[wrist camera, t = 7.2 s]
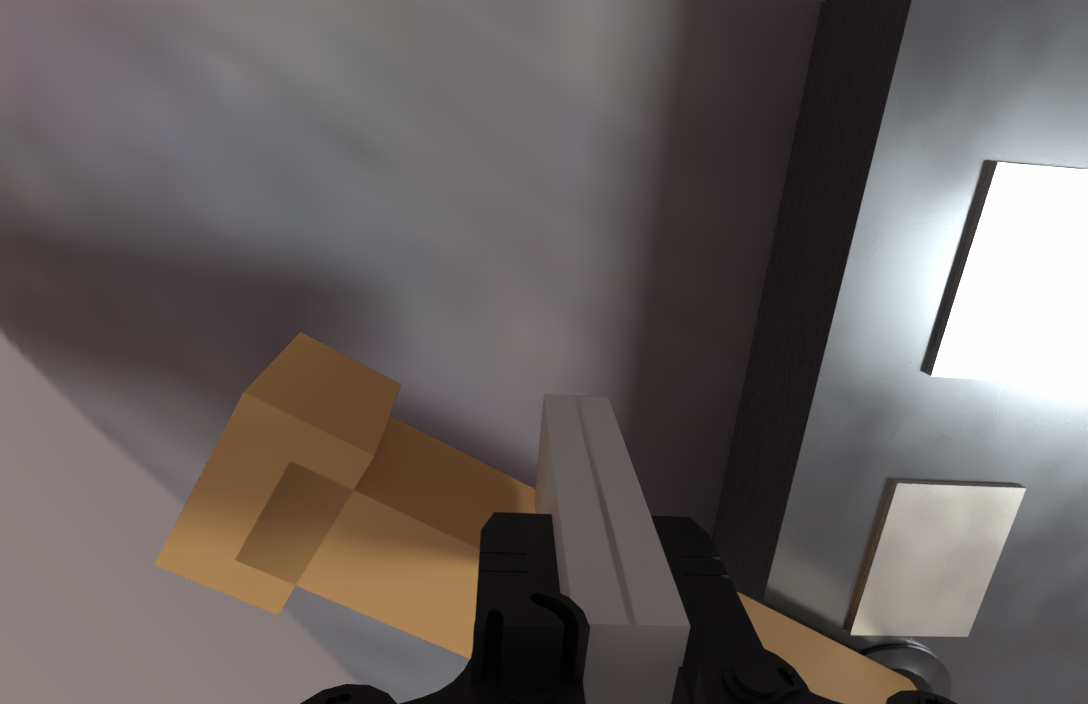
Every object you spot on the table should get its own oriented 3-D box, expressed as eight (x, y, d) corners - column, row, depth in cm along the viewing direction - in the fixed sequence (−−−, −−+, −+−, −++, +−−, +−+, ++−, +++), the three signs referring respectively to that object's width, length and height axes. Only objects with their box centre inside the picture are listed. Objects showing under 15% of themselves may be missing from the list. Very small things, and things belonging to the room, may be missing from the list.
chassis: (823, 1, 16) (927, -38, 12) (1339, 57, 17) (1585, 39, 14) (691, 642, 23) (729, 749, 19) (1066, 648, 25) (1173, 748, 21)
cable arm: (965, 674, 19) (1137, 879, 14) (875, 760, 20) (1004, 981, 15) (304, 327, 14) (190, 447, 9) (230, 466, 15) (90, 645, 10)
